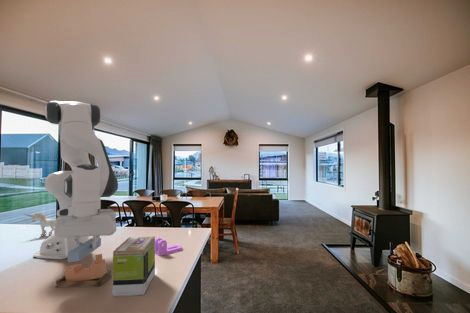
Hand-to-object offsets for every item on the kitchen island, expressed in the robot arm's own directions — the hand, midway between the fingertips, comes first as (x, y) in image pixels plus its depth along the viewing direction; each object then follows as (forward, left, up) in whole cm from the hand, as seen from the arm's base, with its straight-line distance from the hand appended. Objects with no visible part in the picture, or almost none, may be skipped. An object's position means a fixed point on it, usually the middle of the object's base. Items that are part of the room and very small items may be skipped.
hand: (85, 248), depth 86 cm
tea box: (+19, -3, -12) cm, 23 cm away
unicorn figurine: (-55, +56, -12) cm, 80 cm away
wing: (0, 0, -2) cm, 2 cm away
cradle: (0, 0, -12) cm, 12 cm away
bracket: (+23, +30, -12) cm, 40 cm away
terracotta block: (+1, 0, -11) cm, 11 cm away
